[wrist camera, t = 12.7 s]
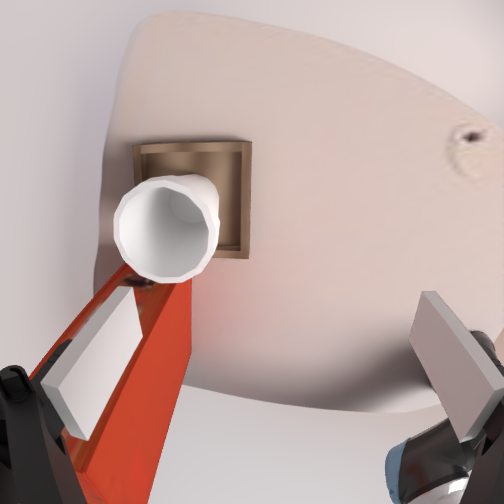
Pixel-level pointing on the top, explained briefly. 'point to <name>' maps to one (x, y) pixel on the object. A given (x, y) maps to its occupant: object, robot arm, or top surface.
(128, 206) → the foam cup
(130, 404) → the file binder
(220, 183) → the square wooden tray
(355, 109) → the top surface
